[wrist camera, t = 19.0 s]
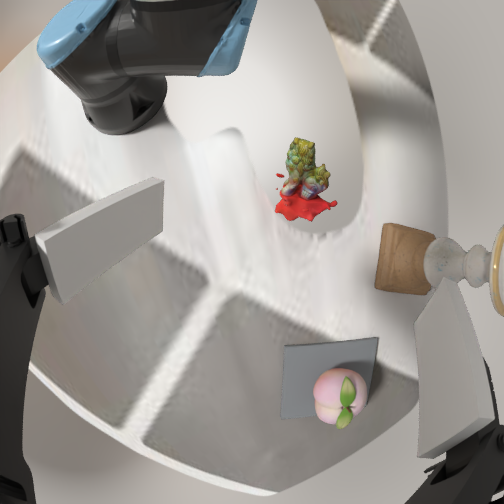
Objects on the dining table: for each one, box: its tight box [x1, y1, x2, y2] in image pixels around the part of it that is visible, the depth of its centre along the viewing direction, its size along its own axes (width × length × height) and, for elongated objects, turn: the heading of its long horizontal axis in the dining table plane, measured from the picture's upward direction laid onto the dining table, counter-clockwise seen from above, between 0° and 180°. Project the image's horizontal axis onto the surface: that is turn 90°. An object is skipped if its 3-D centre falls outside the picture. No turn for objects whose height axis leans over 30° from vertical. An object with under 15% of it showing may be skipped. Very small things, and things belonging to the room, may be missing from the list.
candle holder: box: [375, 223, 504, 316], centre depth 29 cm, size 11×11×24 cm
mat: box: [280, 337, 378, 419], centre depth 40 cm, size 16×14×1 cm
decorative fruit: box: [313, 368, 367, 429], centre depth 35 cm, size 9×8×10 cm
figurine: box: [275, 138, 337, 221], centre depth 36 cm, size 8×10×12 cm
